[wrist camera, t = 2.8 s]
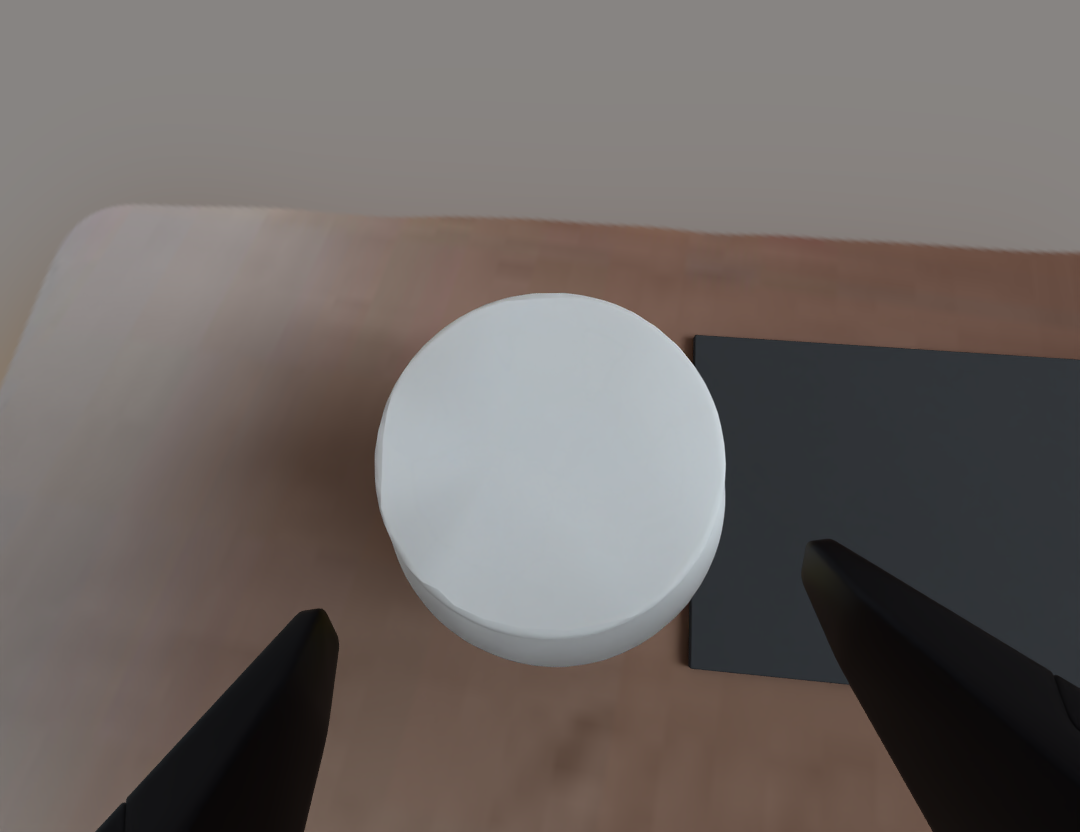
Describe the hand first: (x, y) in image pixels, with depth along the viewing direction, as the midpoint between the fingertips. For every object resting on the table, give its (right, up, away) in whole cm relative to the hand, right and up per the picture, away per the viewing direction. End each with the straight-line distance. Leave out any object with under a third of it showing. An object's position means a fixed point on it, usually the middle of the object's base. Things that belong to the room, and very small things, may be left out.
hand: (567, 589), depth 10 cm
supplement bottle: (0, -1, +10) cm, 10 cm away
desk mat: (+15, 0, +9) cm, 17 cm away
